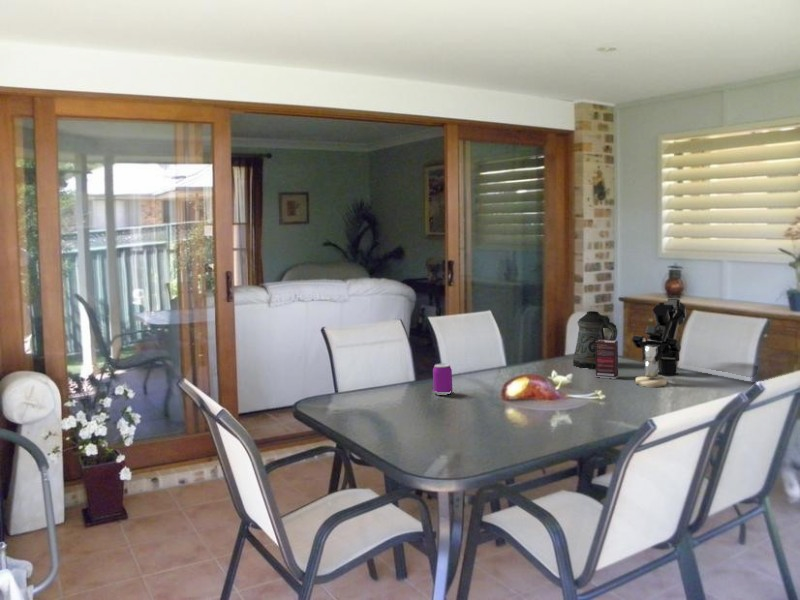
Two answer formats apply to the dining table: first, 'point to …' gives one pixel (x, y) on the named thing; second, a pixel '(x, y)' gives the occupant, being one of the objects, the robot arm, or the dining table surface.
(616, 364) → the supplement box
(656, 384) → the birch stand
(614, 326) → the beer stein
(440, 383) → the beverage can
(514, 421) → the dining table surface
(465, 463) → the dining table surface
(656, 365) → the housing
